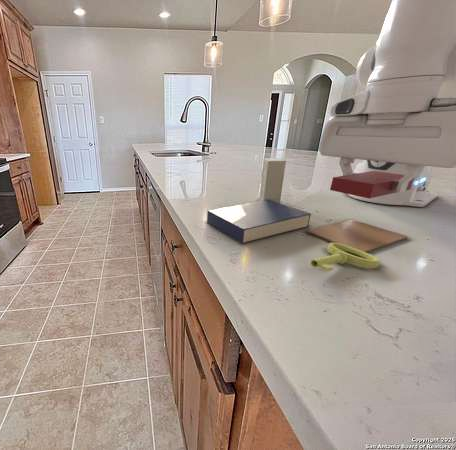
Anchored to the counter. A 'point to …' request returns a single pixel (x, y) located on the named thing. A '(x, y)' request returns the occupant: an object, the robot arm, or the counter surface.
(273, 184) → the cosmetic box
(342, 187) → the red rectangular block
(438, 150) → the robot arm
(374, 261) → the key
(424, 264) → the counter surface
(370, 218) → the counter surface
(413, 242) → the counter surface
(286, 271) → the counter surface
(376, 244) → the cork mat
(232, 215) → the hardback
